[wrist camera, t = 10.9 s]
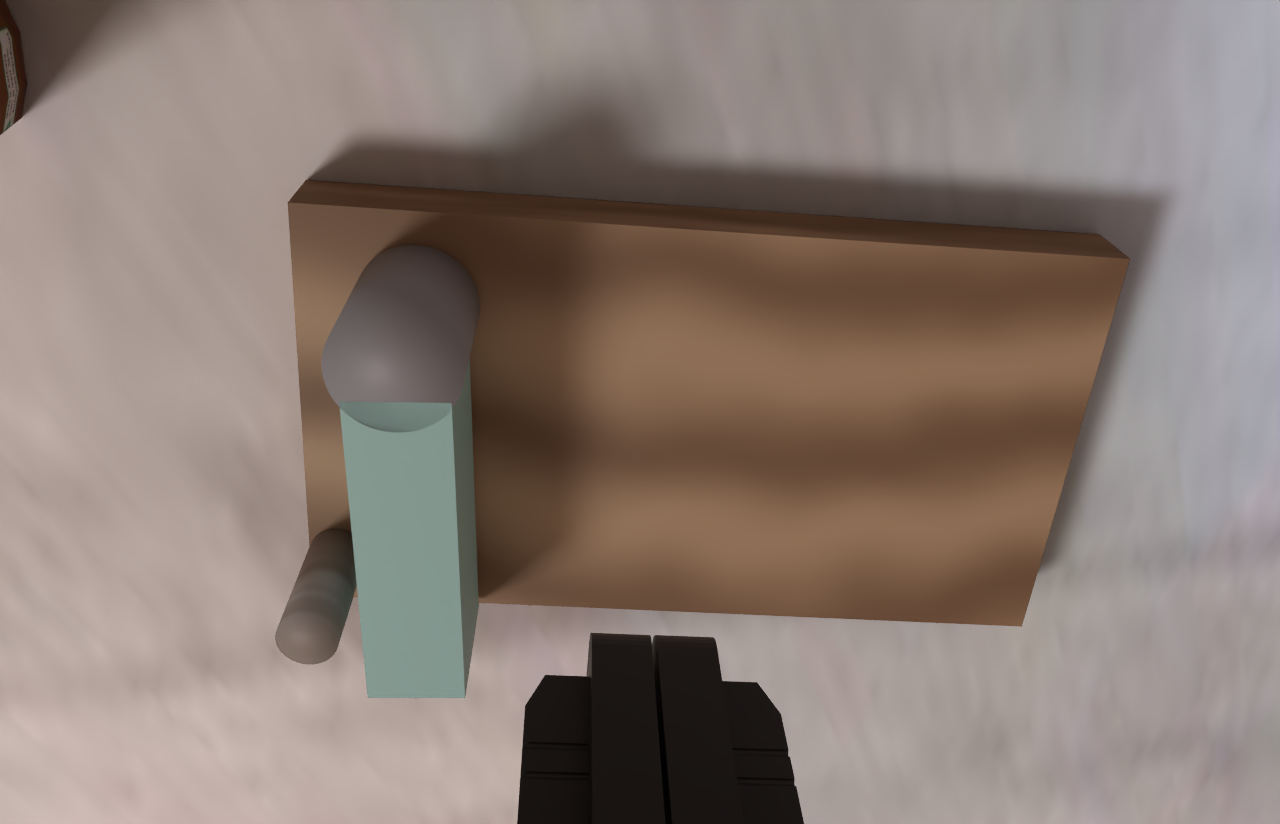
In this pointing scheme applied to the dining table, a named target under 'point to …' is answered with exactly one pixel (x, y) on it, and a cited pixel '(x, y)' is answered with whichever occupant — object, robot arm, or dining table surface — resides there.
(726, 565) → the board
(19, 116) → the food container
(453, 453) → the hinged leg
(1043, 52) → the dining table surface
